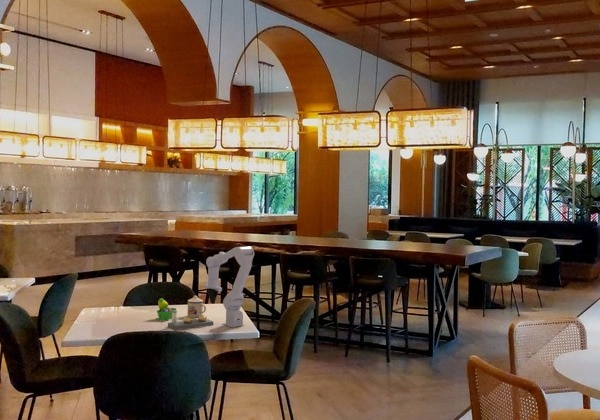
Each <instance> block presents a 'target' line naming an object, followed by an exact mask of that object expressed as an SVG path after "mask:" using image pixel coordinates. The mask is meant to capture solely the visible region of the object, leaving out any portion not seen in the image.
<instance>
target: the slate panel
mask: <svg viewBox="0 0 600 420" xmlns="http://www.w3.org/2000/svg"><path fill="white" fill-rule="evenodd" d="M209 326H214V321H213V320H211V319H207V320H206V321H204V322H200V321H198V318H196V319H194V318H193V319H192V323H189V324H186V323H184V320H180V321H176V324H172V321H171V322H169V321H168V322H167V327H168V328H171V329H174V330H176V329H177V331H179V330H187V329H193V328H201V327H209Z"/></svg>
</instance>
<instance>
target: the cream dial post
mask: <svg viewBox="0 0 600 420" xmlns="http://www.w3.org/2000/svg"><path fill="white" fill-rule="evenodd" d="M177 313H178V310H177V309H176V310H172V319H171V322H172V324H176V322H177V320H178V319H177V318H178V316H177Z"/></svg>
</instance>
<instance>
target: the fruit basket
mask: <svg viewBox="0 0 600 420" xmlns="http://www.w3.org/2000/svg"><path fill="white" fill-rule="evenodd" d="M157 303H158V305H157V307H158V310H156V313H157V316H158V320H159V321H170V320H172V310H176V311H177V308H175V307H169V303H168V302H167V301H166V300H165V299H164V298H162V297H161V298H159V299H158V301H157ZM169 319H170V320H169Z"/></svg>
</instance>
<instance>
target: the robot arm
mask: <svg viewBox="0 0 600 420" xmlns="http://www.w3.org/2000/svg"><path fill="white" fill-rule="evenodd" d="M254 257H255V250H254V249H253V247H252V246H250V245H249V246H248V245H247V246H235V247H233V248H232V249H230V250H228V251H226V252H224V251H219V253H218V254H214V255H213V256H208V257H207V258H206V262H205V263H206V267H207V268H208V269H207V270H208V271H207V272H208V273H207V283H205V284H204V285H203V287H204V289H206V292H207V295H208V298H209V302H210V303H211V304H215V303H216V300H217V296H218V294H219V293H220V292H222V291H223V287H221V286H220V285H219V271H220V267H221V265H223V264H226V263H228V260H229V259H231V258H235V260H236V262H237V263H238V265H239V266H240V267H239V270H238V272H237V275H236V277H235V280H234V283H233V285H232V288H231V290H230V291H229V292H227V294H226V296H225V297H224V298H223V301H222V304H223V307H224V309H225V322H223V323H222V325H224V326H228V327H231V328H236V327H243V326H245V324H244V313H243V311H242V310H240V309H241V307H242V306H243V304H244V298H245V297H244V295H243V293H242V292H243V290H244V287H245V285H246V282H247V279H248V278H249V275H250V272H251V269H252V265H253V260H254Z"/></svg>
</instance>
